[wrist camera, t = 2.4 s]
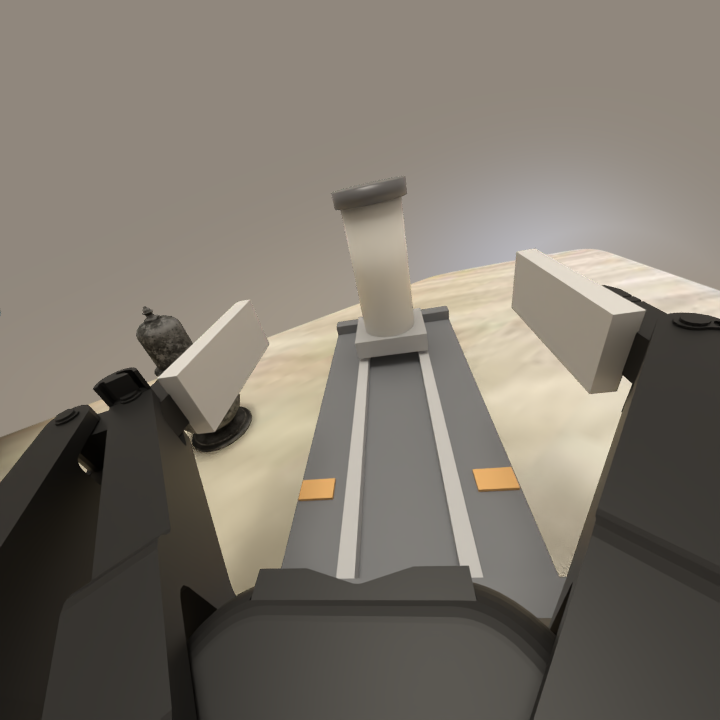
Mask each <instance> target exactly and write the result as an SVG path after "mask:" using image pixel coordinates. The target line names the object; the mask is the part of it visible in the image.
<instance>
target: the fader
mask: <svg viewBox="0 0 720 720" xmlns="http://www.w3.org/2000/svg"><path fill="white" fill-rule="evenodd" d="M331 194H332V199H333V203H334V208H335V210H341V214H342V219H343V223H344V228H345V233H346V238H347V243H348V248H349V253H350V257H351V262H352V267H353V272H354V276H355V281H356V286H357V291H358V296H359V300H360V305H361V310H362V315H363V317H359V319H358V326H357V332H356V339H355V346H356V350H357V354H358V359H362V358H370V357H377V356H385V355H393V354H401V353H408V352H416V351H424V350H428V340H427V332H426V328H425V324H424V320H423V317H422V313H421V309H420V308H417V309H413V305H412V295H411V285H410V276H409V266H408V256H407V246H406V238H405V227H404V217H403V208H402V198H401V196H404V195H406V194H407V189H406V178H405V176H401V177H394V178H389V179H384V180H379V181H374V182H370V183H365V184H361V185H357V186H353V187H349V188H345V189H342V190H338V191H335V192H333V193H331Z"/></svg>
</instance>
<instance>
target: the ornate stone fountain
mask: <svg viewBox="0 0 720 720" xmlns="http://www.w3.org/2000/svg"><path fill="white" fill-rule="evenodd" d="M152 312H153V310H150V309H149V308H147V307H143V313H142V314H143V315H146V317H147V318H146V319H145V320H144V323H142V324H141V325H140V326H139V328H138V329H137V333H136V336H137V339H138V340H139V342H140V343H141V345H142V346H143V347H144V349H145V350H146V352H147V353H148V354H149V356H150V357H151V359H152V360H153V362H154V363H155V364H156V366H157V368H156V369H155V374H156V376H158V377H159V376H160V375H161V374H162V373H163V372H164V371H165V370H166V369H167V368H168V367H169V366H170V365H172V364H173V363H174V362H175V361H176V360H177V359H178V358H179V357H180V356H181V355H182V354H183V353H184V352H185V351H186V350H187V349H188V348H189V347H190V346H191V345H192V344H193V343H192V341H191V339H190V338H189V336H188V335H187V333H186V331H185V330H184V328H183V326H182V324H181V323H180V322H179V320H178V319H176V318H174V317H172V316H166V315H163V316H159V315H154V314H152ZM239 406H240V394H238V396H237V397H236V399H235V400H234V402H233V404H232V405H231V407H230V408H229V410H228V412H227V413H226V415H225V416H224V418H223V420H222V421H221V423H220V425H219V426H218V428H217V429H216V431H215V432H211V433H201V434H197V433H196V432H195V430H194V429H193V428H192V426H191V425H190V423H189V424H188V425H187V427H186V428H185V429H184V430H186V431H188V432H190V433H194V434H193V438H192V444H193V446H194V447H195V448H196V449H197V450H199V451H203V452H210V451H216V450H218V449H221V448H224V447H226V446H228V445H230V444H231V443H233V442H234V441H236V440H237V439H238V438H240V437H241V436H242V435H243V434H244V433H245V431H246V430H247V429H248V427H249V425H250V423H251V419H252V415H251V413H250V411H249V410H248V409H247V408H244V407H239Z"/></svg>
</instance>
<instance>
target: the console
mask: <svg viewBox="0 0 720 720" xmlns="http://www.w3.org/2000/svg"><path fill="white" fill-rule="evenodd" d="M421 313H422V317H423V320H424V324H425V328H426V332H427V340H428V350H424V351H416V352H408V353H401V354H393V355H385V356H377V357H370V358H362V359H358V354H357V350H356V346H355V339H356V332H357V326H358V319H356V320H349V321H343V322H338V323H337V331H338V340H337V344H336V348H335V352H334V356H333V360H332V364H331V368H330V372H329V376H328V380H327V384H326V388H325V392H324V396H323V401H322V405H321V409H320V413H319V417H318V421H317V425H316V429H315V433H314V437H313V441H312V445H311V449H310V453H309V457H308V461H307V466H306V470H305V474H304V478H303V482H302V486H301V490H300V494H299V498H298V502H297V506H296V510H295V514H294V518H293V522H292V526H291V531H290V535H289V539H288V543H287V547H286V551H285V555H284V559H283V563H282V567H281V569H287V568H308V569H311V570H314V571H317V572H320V573H323V574H326V575H329V576H332V577H335V578H338V579H341V580H344V581H347V582H350V583H354V584H360V583H364V582H367V581H370V580H373V579H376V578H379V577H382V576H385V575H389V574H392V573H395V572H398V571H401V570H404V569H407V568H410V567H413V566H469V568H470V573H471V577H472V582H474V583H477V584H481V585H484V586H486V587H489V588H491V589H493V590H496V591H498V592H500V593H502V594H503V595H505V596H507V597H509V598H510V599H512V600H514V601H516V602H517V603H518V604H520V605H521V606H523V607H524V608H525V609H527V610H528V611H529V612H531V613H532V614H533V615H534V616H536V617H537V618H538V619H539V620H540V621H541V622H542V623H544V624H545V625H546V626H547V627H549V625H550V622H551V619H552V616H553V613H554V610H555V608H556V605H557V602H558V600H559V597H560V594H561V592H562V589H563V586H564V583H565V580H566V578H567V577H559V576H558V573H557V571H556V569H555V566H554V564H553V562H552V559H551V557H550V555H549V552H548V550H547V548H546V545H545V543H544V541H543V538H542V536H541V533H540V531H539V529H538V526H537V524H536V522H535V519H534V517H533V515H532V512H531V510H530V508H529V505H528V503H527V501H526V498H525V496H524V494H523V491H522V489H521V487H520V484H519V482H518V480H517V477H516V475H515V473H514V470H513V468H512V466H511V463H510V461H509V459H508V456H507V454H506V452H505V449H504V447H503V445H502V442H501V440H500V438H499V435H498V433H497V431H496V428H495V426H494V424H493V421H492V419H491V417H490V414H489V412H488V410H487V407H486V405H485V403H484V400H483V398H482V396H481V393H480V391H479V389H478V386H477V384H476V382H475V379H474V377H473V374H472V372H471V370H470V367H469V365H468V363H467V360H466V358H465V356H464V353H463V351H462V349H461V346H460V344H459V342H458V339H457V337H456V335H455V332H454V330H453V328H452V325H451V323H450V321H449V310H448V308H447V306H442V307H435V308H429V309H422V310H421Z"/></svg>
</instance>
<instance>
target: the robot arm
mask: <svg viewBox="0 0 720 720" xmlns="http://www.w3.org/2000/svg"><path fill="white" fill-rule="evenodd" d="M512 309H513V310H514V311H515V312H516V313H517V314H518V315H519V316H520V318H521V319H522V320H523V321H524V322H525V323H526V324H527V325H528V326H529V328H530V329H531V330H532V331H533V332H534V333H535V334H536V335H537V336H538V338H539V339H540V340H541V341H542V342H543V343H544V344H545V345H546V346H547V347H548V349H549V350H550V351H551V352H552V353H553V354H554V355H555V356H556V357H557V359H558V360H559V361H560V362H561V363H562V364H563V365H564V366H565V367H566V369H567V370H568V371H569V372H570V373H571V374H572V375H573V376H574V377H575V379H576V380H577V381H578V382H579V383H580V384H581V385H582V386H583V387H584V388H585V390H586V391H587V392H588V393H589V394H595V393H605V392H615V391H617V389H618V387H619V384H620V381H621V378H622V376H624V377H626V378H627V379H628V380H629V381H630V382H631V383H632V386H631V389H630V391H629V394H628V396H627V399H626V401H625V404H624V406H623V409H622V411H621V412H622V414H621V417H620V420H619V423H618V426H617V429H616V432H615V435H614V438H613V441H612V444H611V447H610V450H609V453H608V456H607V459H606V462H605V465H604V468H603V471H602V474H601V477H600V480H599V483H598V486H597V489H596V492H595V494H594V497H593V500H592V503H591V506H590V509H589V512H588V515H587V518H586V521H585V524H584V527H583V530H582V533H581V536H580V539H579V542H578V545H577V548H576V551H575V554H574V557H573V560H572V563H571V566H570V569H569V572H568V575H567V578H566V580H565V583H564V586H563V589H562V592H561V594H560V597H559V600H558V602H557V605H556V608H555V610H554V613H553V616H552V619H551V622H550V625H549V627H547V626H546V625H545V624H544V623H542V622H541V621H540V620H539V619H538V618H537V617H536V616H534V615H533V614H532V613H531V612H529V611H528V610H527V609H525V608H524V607H523V606H521V605H520V604H518V603H517V602H516V601H514V600H512V599H510V598H509V597H507V596H505V595H503V594H502V593H500V592H498V591H496V590H493V589H491V588H489V587H486V586H484V585H481V584H477V583H474V582H472V577H471V573H470V568H469V566H413V567H410V568H407V569H404V570H401V571H398V572H395V573H392V574H389V575H385V576H382V577H379V578H376V579H373V580H370V581H367V582H364V583H360V584H354V583H350V582H347V581H344V580H341V579H338V578H335V577H332V576H329V575H326V574H323V573H320V572H317V571H314V570H311V569H308V568H287V569H260V571H259V574H258V578H257V581H256V584H255V587H252V588H250V589H248V590H246V591H244V592H242V593H240V594H239V595H237V596H236V595H235V593H234V591H233V589H232V587H231V584H230V581H229V577H228V574H227V570H226V567H225V563H224V559H223V556H222V552H221V549H220V545H219V542H218V538H217V535H216V531H215V528H214V524H213V521H212V517H211V514H210V510H209V507H208V503H207V500H206V496H205V492H204V489H203V485H202V482H201V478H200V475H199V471H198V468H197V464H196V461H195V457H194V454H193V450H192V447H191V443H190V440H189V437H188V436H187V434H186V433H185V432H184V429H185V428H186V427H187V425H188V424H189V423H190V425H191V426H192V428H193V429H194V430H195V432H196V433H197V434H201V433H211V432H215V431H216V429H217V428H218V426H219V425H220V423H221V421H222V420H223V418H224V416H225V415H226V413H227V412H228V410H229V408H230V407H231V405H232V404H233V402H234V400H235V399H236V397H237V396H238V394H239V392H240V391H241V389H242V388H243V386H244V384H245V383H246V381H247V379H248V378H249V376H250V375H251V373H252V371H253V370H254V368H255V367H256V365H257V363H258V362H259V360H260V359H261V357H262V355H263V354H264V352H265V351H266V349H267V347H268V346H269V342H268V340H267V337H266V335H265V333H264V330H263V328H262V326H261V323H260V321H259V319H258V316H257V314H256V312H255V310H254V307H253V305H252V303H251V300H245V301H240V302H236V303H235V305H233V306H232V307H231V308H230V309H229V310H228V311H227V312H226V313H225V314H224V315H223V316H222V317H221V318H220V319H219V320H218V321H217V322H215V323H214V324H213V326H211V327H210V329H208V330H207V331H206V332H205V333H204V334H203V335H202V336H201V337H200V338H199V339H198V340H197V341H196V342H195V343H194V344H192V345H191V346H190V347H189V348H188V349H187V350H186V351H185V352H184V353H183V354H182V355H181V356H180V357H179V358H178V359H177V360H176V361H175V362H174V363H173V364H172V365H170V366H169V367H168V368H167V369H166V370H165V371H164V372H163V373H162V374H161V375H160V376H159V377H158V378H157V381H156V382H155V383H154V384H153V385H152V386H151V387H150V386H149V384H148V383H147V382H146V381H145V379H144V378H143V377H142V375H141V374H140V373H139V371H138V370H137V369H136V368H127V369H123V370H120V371H117V372H115V373H113V374H111V375H109V376H107V377H105V378H104V379H102V380H101V381H99V382H98V383H97V384H96V385H95V387H94V388H93V389H94V391H95V392H96V393H97V394H98V395H99V396H100V397H101V398H102V399H103V401H104V402H105V403H106V404H107V405H108V406H109V407H110V408H109V411H106V412H103V413H100V414H97V413H96V412H95V411H94V410H93V409H92V408H91V407H90V406H89V405H81V406H77V407H75V408H72V409H67V410H65V411H64V412H62V413H60V414H58V415H57V416H56V417H55V418H54V419H53V420H51V421H50V422H49V423H48V424H47V425H46V426H45V427H44V429H43V430H42V431H41V432H40V434H39V435H38V436H37V437H36V439H35V440H34V441H33V442H32V444H31V445H30V446H29V447H28V449H27V450H26V451H25V452H24V454H23V455H22V456H21V458H20V459H19V460H18V461H17V463H16V464H15V465H14V466H13V468H12V469H11V470H10V471H9V473H8V474H7V475H6V476H5V478H4V479H3V480H2V481H1V483H0V720H720V319H718V318H715V317H712V316H709V315H703V314H697V313H670V314H667V313H665V312H663V311H661V310H659V309H657V308H655V307H653V306H651V305H649V304H647V303H646V302H644V301H642V302H641V300H640V299H638V298H636V297H634V296H631V295H630V294H628V293H627V292H625V291H623V290H621V289H618V288H614V287H610V286H606V285H600V284H598V283H596V282H594V281H593V280H591V279H589V278H587V277H585V276H584V275H582V274H580V273H578V272H576V271H574V270H573V269H571V268H569V267H567V266H565V265H564V264H562V263H560V262H558V261H556V260H555V259H553V258H551V257H549V256H547V255H546V254H544V253H542V252H540V251H538V250H536V249H530V250H523V251H518V252H517V253H516V263H515V274H514V286H513V297H512ZM0 314H1V311H0ZM78 462H79V463H80V464H81V465H82V466H84V467H85V468H86V469H87V472H86V473H85V472H84V471H83V470H82V469H81V467H80V466H79V463H78Z"/></svg>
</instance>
